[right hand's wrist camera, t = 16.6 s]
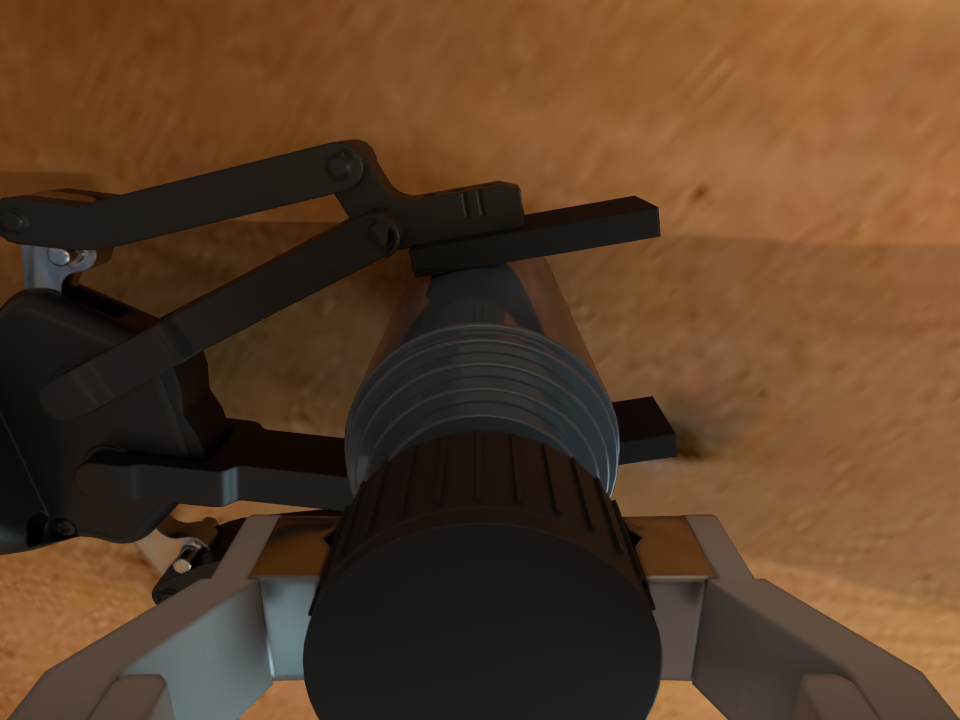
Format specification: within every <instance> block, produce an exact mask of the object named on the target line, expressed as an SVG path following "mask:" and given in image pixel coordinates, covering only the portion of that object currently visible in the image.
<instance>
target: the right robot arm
mask: <svg viewBox="0 0 960 720" xmlns="http://www.w3.org/2000/svg"><path fill="white" fill-rule="evenodd" d="M341 517H342V516H315V515H283V516H282V515H251V516H249V517H247V518H246V520H245V521H244V523H243V525H242V526H241V528H240V530H239V531H238V533H237V535H236V537H235V538H234V540H233V542H232V543H231V545H230V547H229V548H228V550H227V552H226V553H225V555H224V557H223V558H222V560H221V562H220V564H219V565H218V567H217V569H216V570H215V572H214V574H213V575H212V577H211V579H200V580H198V581H196V582H195V583H193V584H191V585H190V586H188V587H186V588H185V589H183V590H181V591H180V592H178V593H176V594H175V595H173V596H171V597H170V598H168V599H166V600H165V601H163V602H161V603H159V604H158V605H156V606H154V607H153V608H151V609H149V610H148V611H146V612H144V613H143V614H141V615H139V616H138V617H136V618H134V619H133V620H131V621H129V622H128V623H126V624H124V625H123V626H121V627H119V628H117V629H116V630H114V631H112V632H111V633H109V634H107V635H106V636H104V637H102V638H101V639H99V640H97V641H96V642H94V643H92V644H91V645H89V646H87V647H86V648H84V649H82V650H81V651H79V652H77V653H75V654H74V655H72V656H70V657H69V658H67V659H65V660H64V661H62V662H60V663H59V664H57V665H55V666H54V667H52V668H50V669H49V670H47V671H45V673H44V674H43V675H42V676H41V678H40V679H39V680H38V681H37V683H36V684H35V685H34V686H33V688H32V689H31V690H30V691H29V693H28V694H27V695H26V696H25V698H24V699H23V700H22V702H21V703H20V704H19V705H18V707H17V708H16V709H15V710H14V712H13V713H12V714H11V715H10V717H9V718H8V719H7V720H238V719H239V718H240V717H241V716H242V715H243V714H244V713H245V712H246V710H247V709H248V708H249V707H250V706H251V705H252V704H253V703H254V702H255V701H256V700H257V699H258V698H259V697H260V696H261V695H262V694H263V693H264V692H265V691H266V690H267V689H268V688H269V687H270V686H271V685H272V681H284V680H304V673H303V661H302V660H303V648H304V640H305V636H306V632H307V628H308V625H309V621H310V619H311V616H308V612H309V609H310V606H311V603H312V600H313V597H314V595H316V596H318V595H319V592H320V589H321V587H320V586H318V583H319V581H320V578H321V575H322V572H323V569H324V566H325V563H326V560H327V558H328V555H329V552H330V549H331V546H332V543H333V540H334V537H335V535H336V532H337V529H338V526H339V523H340V520H341ZM622 518H623V521H624V524H625V527H626V529H627V532H628V535H629V538H630V541H631V543H632V544H633V546H634V552H635V555H636V557H637V560H638V563H639V566H640V569H641V571H642V574H643V577H644V581H642V584H643V587H644V590H650V593H651V596H652V599H653V601H654V604H655V608H656V610H653V611H652V613H653V616H654V618H655V621H656V624H657V627H658V630H659V634H660V639H661V645H662V667H663V668H662V674H661V680H680V681H692V684H693V685H694V686H695V687H696V688H697V689H698V690H699V691H700V692H701V693H702V694H703V695H704V696H705V697H706V698H707V699H708V700H709V701H710V702H711V703H712V704H713V705H714V706H715V707H716V708H717V709H718V710H719V711H720V712H721V713H722V714H723V715H724V716H725V717H726V718H727V719H728V720H960V719H959V718H958V716H957V715H956V714H955V713H954V711H953V710H952V709H951V708H950V706H949V705H948V704H947V703H946V701H945V700H944V699H943V698H942V696H941V695H940V694H939V693H938V691H937V690H936V689H935V688H934V686H933V685H932V684H931V683H930V681H929V680H928V679H927V678H926V676H925V675H924V674H923V673H922V672H921V671H919V670H917V669H916V668H914V667H912V666H911V665H909V664H907V663H906V662H904V661H902V660H900V659H899V658H897V657H895V656H894V655H892V654H890V653H889V652H887V651H885V650H884V649H882V648H880V647H879V646H877V645H875V644H873V643H872V642H870V641H868V640H867V639H865V638H863V637H862V636H860V635H858V634H857V633H855V632H853V631H852V630H850V629H848V628H846V627H845V626H843V625H841V624H840V623H838V622H836V621H835V620H833V619H831V618H830V617H828V616H826V615H825V614H823V613H821V612H819V611H818V610H816V609H814V608H813V607H811V606H809V605H808V604H806V603H804V602H803V601H801V600H799V599H798V598H796V597H794V596H792V595H791V594H789V593H787V592H786V591H784V590H782V589H781V588H779V587H777V586H776V585H774V584H772V583H771V582H769V581H767V580H765V579H755V578H754V577H753V575H752V573H751V572H750V570H749V569H748V567H747V565H746V564H745V562H744V560H743V559H742V557H741V555H740V554H739V552H738V551H737V549H736V547H735V546H734V544H733V542H732V541H731V539H730V537H729V536H728V534H727V533H726V531H725V529H724V528H723V526H722V524H721V523H720V521H719V520H718V518H717V517H716V516H714V515H712V514H705V515H681V516H646V517H622Z"/></svg>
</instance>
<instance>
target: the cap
mask: <svg viewBox="0 0 960 720" xmlns="http://www.w3.org/2000/svg"><path fill="white" fill-rule="evenodd" d="M642 581H644V577H643V574H642V571H641V569H640V566H639V563H638V560H637V557H636V555H635V552H634V546H633V544H632V543H631V541H630V538H629V535H628V532H627V529H626V527H625V524H624V521H623V518H622V516H621V513H620V510H619V507H618V504H617V502H616V500H613V501H611V499H610V497H609V495H608V494H607V492H606V491H605V490H604V488H603V486H602V483H601V480H600V479H599V478H598V477H595V478H594V477H593V476H592V475H591V474H590V473H589V472H588V471H587V470H586V469H585V468H584V467H583V466H581V465H580V464H579V463H578V461H577V459H576V458H574V457H572V458H571V457H569V456H567V455H565V454H564V453H562V452H560V451H558V450H556V449H555V448H553V447H550V446H549V444H548V443H545V442H543V443H540V442H538V441H536V440H532V439H529V438H525V437H521V436H517V435H516V434H513V433H511V434H505V433H498V432H482V431H476V432H469V433H458V434H453V435H447V434H446V435H442V437H439V438H435V439H432V440H429V441H427V442H424V443H421V444H418V445H415V444H414V445H412V446H410V449H408V450H406V451H404V452H402V453H400V454H399V455H397V456H396V457H394V458H393V459H391V460H390V461H387V460H386V461H384V462H383V463H382V467H381V468H380V469H378V470H377V471H376V472H375V473H374V474H373V475H372V476H371V477H370V478H369V479H368V480H367V481H366V482H365V481H362V483H361V484H360V487H359V490H358V493H357V495H356V496H355V498H354V499H353V501H352V502H351V505H350V506H349V505H346V507H345V509H344V512H343V514H342V517H341V520H340V523H339V526H338V529H337V532H336V535H335V537H334V540H333V543H332V546H331V549H330V552H329V555H328V558H327V560H326V563H325V566H324V569H323V572H322V575H321V578H320V581H319V583H318V586H320V587H321V589H320V592H319V595H318V596H316V595H314V597H313V600H312V603H311V606H310V609H309V612H308V616H311V619H310V621H309V625H308V628H307V632H306V636H305V640H304V648H303V660H302V661H303V673H304V681H305V685H306V689H307V692H308V696H309V699H310V701H311V704H312V706H313V708H314V711H315V713H316V715H317V717H318V718H319V720H646V718H647V716H648V714H649V713H650V711H651V709H652V707H653V705H654V702H655V699H656V696H657V693H658V690H659V686H660V680H661V674H662V668H663V667H662V645H661V639H660V634H659V630H658V627H657V624H656V621H655V618H654V616H653V613H652V611H653V610H656V608H655V604H654V601H653V599H652V596H651V593H650V590H644V587H643V584H642Z"/></svg>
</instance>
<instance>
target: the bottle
mask: <svg viewBox="0 0 960 720" xmlns="http://www.w3.org/2000/svg"><path fill="white" fill-rule="evenodd" d="M476 431H482V432H498V433H505V434H511V433H513V434H516V435H517V436H521V437H525V438H529V439H532V440H536V441H538V442H540V443H543V442H545V443H548V444H549V446H550V447H553V448H555V449H556V450H558V451H560V452H562V453H564V454H565V455H567V456H569V457H571V458H572V457H574V458H576V459H577V461H578V463H579V464H580V465H581V466H583V467H584V468H585V469H586V470H587V471H588V472H589V473H590V474H591V475H592V476H593V477H594V478H595V477H598V478H599V479H600V480H601V483H602V486H603V488H604V490H605V491H606V492H607V494H608V495H609V497H610V498H611V495H612V493H613V490H614V486H615V482H616V478H617V471H618V463H619V453H620V436H619V428H618V422H617V417H616V414H615V411H614V408H613V405H612V403H611V400H610V398H609V395H608V393H607V391H606V389H605V387H604V384H603V382H602V380H601V378H600V376H599V374H598V371H597V369H596V367H595V365H594V363H593V360H592V358H591V356H590V354H589V352H588V350H587V347H586V345H585V343H584V341H583V339H582V337H581V334H580V332H579V330H578V328H577V326H576V323H575V321H574V319H573V317H572V315H571V313H570V310H569V308H568V306H567V304H566V302H565V299H564V297H563V295H562V293H561V291H560V289H559V286H558V284H557V282H556V280H555V278H554V275H553V273H552V271H551V269H550V267H549V265H548V263H547V261H546V260H545V258H544V257H537V258H531V259H525V260H519V261H513V262H507V263H502V264H496V265H490V266H484V267H478V268H472V269H466V270H461V271H455V272H449V273H443V274H437V275H431V276H425V277H420V278H415V276H414V271H413V270H412V272H411V274H410V277H409V279H408V281H407V283H406V285H405V288H404V290H403V292H402V294H401V296H400V299H399V301H398V303H397V305H396V308H395V310H394V312H393V314H392V316H391V319H390V321H389V323H388V325H387V327H386V330H385V332H384V334H383V336H382V338H381V341H380V343H379V345H378V347H377V350H376V352H375V354H374V356H373V358H372V361H371V363H370V365H369V367H368V369H367V372H366V374H365V376H364V378H363V380H362V383H361V385H360V387H359V389H358V391H357V394H356V396H355V398H354V401H353V403H352V406H351V408H350V411H349V415H348V419H347V423H346V428H345V440H344V449H345V461H346V469H347V476H348V481H349V485H350V489H351V492H352V494H353V497H354V498H355V496H356V495H357V493H358V490H359V487H360V484H361V483H362V481H365V482H366V481H367V480H368V479H369V478H370V477H371V476H372V475H373V474H374V473H375V472H376V471H377V470H378V469H380V468H381V467H382V463H383V462H384V461H386V460H387V461H390V460H391V459H393V458H394V457H396V456H397V455H399V454H400V453H402V452H404V451H406V450H408V449H410V446H412V445H414V444H415V445H418V444H421V443H424V442H427V441H429V440H432V439H435V438H439V437H442V435H446V434H447V435H453V434H458V433H469V432H476Z"/></svg>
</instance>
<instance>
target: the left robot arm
mask: <svg viewBox="0 0 960 720" xmlns="http://www.w3.org/2000/svg"><path fill="white" fill-rule="evenodd" d="M330 194H335V196H336V197H337V199H338V200H339V202H340V204H341V205H342V207H343V208H344V210H345V211H346V213H347V215H348V216H349V219H347V220H345V221H343V222H341V223H340V224H338V225H336V226H334V227H332V228H330V229H328V230H326V231H324V232H323V233H321V234H319V235H317V236H315V237H313V238H311V239H309V240H307V241H306V242H304V243H302V244H300V245H298V246H296V247H294V248H292V249H290V250H289V251H287V252H285V253H283V254H281V255H279V256H277V257H275V258H274V259H272V260H270V261H268V262H266V263H264V264H262V265H260V266H258V267H257V268H255V269H253V270H251V271H249V272H247V273H245V274H243V275H241V276H240V277H238V278H236V279H234V280H232V281H230V282H228V283H226V284H224V285H223V286H221V287H219V288H217V289H215V290H213V291H211V292H209V293H207V294H205V295H203V296H201V297H199V298H197V299H195V300H193V301H191V302H189V303H187V304H186V305H184V306H182V307H180V308H178V309H176V310H174V311H172V312H170V313H169V314H167V315H165V316H163V317H161V318H157V317H155V316H153V315H150V314H148V313H146V312H143V311H141V310H139V309H136V308H134V307H132V306H130V305H127V304H125V303H123V302H120V301H118V300H116V299H113V298H111V297H109V296H107V295H104V294H102V293H100V292H97V291H95V290H93V289H90V288H88V287H86V286H83V285H81V284H79V280H80V276H81V274H82V272H83V271H86V270H89V269H92V268H94V267H97V266H99V265H102V264H104V263H106V262H107V261H108V260H109V259H110V258H111V256H112V254H113V248H114V247H116V246H120V245H124V244H128V243H132V242H136V241H140V240H144V239H149V238H153V237H157V236H161V235H165V234H169V233H173V232H178V231H182V230H186V229H190V228H194V227H198V226H202V225H206V224H211V223H215V222H219V221H223V220H227V219H231V218H235V217H240V216H244V215H248V214H252V213H256V212H260V211H264V210H268V209H273V208H277V207H281V206H285V205H289V204H293V203H297V202H302V201H306V200H310V199H314V198H318V197H322V196H326V195H330ZM0 236H2V237H3V238H5V239H6V240H7V241H9V242H13V243H16V244H20V248H21V256H22V264H23V272H24V280H25V288H26V290H23V291H20V292H18V293H17V294H15V295H13V296H12V297H11V298H10V299H9V300H8V301H7V302H6V303H5V304H4V305H3V306H2V307H1V308H0V555H5V554H12V553H19V552H25V551H29V550H34V549H38V548H41V547H45V546H48V545H51V544H54V543H58V542H61V541H64V540H67V539H71V538H75V537H82V536H83V537H93V538H99V539H103V540H106V541H109V542H113V543H123V544H125V543H132V542H134V543H135V545H136V546H137V547H138V548H139V550H140V551H141V552H142V553H143V554H144V556H145V557H146V558H147V559H148V561H149V562H150V563H151V564H152V565H153V567H154V568H155V569H156V570H157V572H158V573H159V574H160V575H161V578H160V580H159V581H158V583H157V584H156V586H155V587H154V589H153V591H152V598H153V600H154V602H155V604H156V605H158V604H159V603H161V602H163V601H165V600H166V599H168V598H170V597H171V596H173V595H175V594H176V593H178V592H180V591H181V590H183V589H185V588H186V587H188V586H190V585H191V584H193V583H195V582H196V581H198V580H200V579H211V577H212V575H213V574H214V572H215V570H216V569H217V567H218V565H219V564H220V562H221V560H222V558H223V557H224V555H225V553H226V552H227V550H228V548H229V547H230V545H231V543H232V542H233V540H234V538H235V537H236V535H237V533H238V531H239V530H240V528H241V526H242V525H243V523H244V521H245V520H246V518H247V517H245V518H240V519H236V520H233V521H229V522H226V523H224V524H221V525H219V523H218V521H217V520H216V519H215V518H212V517H206V518H204V519H203V520H202V521H197V522H191V523H185V522H181V521H178V520H176V519H175V518H173V517H172V516H171V515H170V513H171V512H172V511H173V510H174V509H175V507H176V506H177V505H178V504H179V503H180V504H189V505H199V506H208V507H222V506H226V505H228V504H231V503H233V502H235V501H239V500H244V501H254V502H263V503H272V504H282V505H291V506H300V507H309V508H319V509H322V510H311V511H301V512H291V513H281V514H271V515H282V516H283V515H315V516H342V514H343V512H344V509H345V507H346V505H349V506H350V505H351V502H352V501H353V499H354V497H353V494H352V492H351V489H350V485H349V481H348V476H347V469H346V461H345V449H344V440H345V438H336V437H327V436H318V435H309V434H300V433H291V432H283V431H274V430H267V429H264V428H262V426H261V425H260V424H259V423H257V422H254V421H248V420H239V419H230V418H226V416H225V413H224V410H223V408H222V406H221V405H220V403H219V402H218V400H217V399H216V397H215V396H214V394H213V393H212V391H211V390H210V388H209V378H208V363H207V360H206V358H205V355H204V352H203V350H204V349H206V348H208V347H210V346H212V345H214V344H216V343H218V342H220V341H222V340H224V339H226V338H227V337H229V336H231V335H233V334H235V333H237V332H239V331H241V330H243V329H245V328H247V327H249V326H251V325H253V324H255V323H257V322H259V321H261V320H262V319H264V318H266V317H268V316H270V315H272V314H274V313H276V312H278V311H280V310H282V309H284V308H286V307H288V306H290V305H292V304H294V303H296V302H297V301H299V300H301V299H303V298H305V297H307V296H309V295H311V294H313V293H315V292H317V291H319V290H321V289H323V288H325V287H327V286H329V285H331V284H332V283H334V282H336V281H338V280H340V279H342V278H344V277H346V276H348V275H350V274H352V273H354V272H356V271H358V270H360V269H362V268H364V267H366V266H367V265H369V264H371V263H373V262H375V261H377V260H379V259H381V258H383V257H385V256H386V257H387V259H388V258H389V257H391V256H392V255H393V254H394V253H395V252H396V250H400V249H406V248H410V250H409V253H410V257H411V262H412V267H413V271H414V276H415V278H420V277H425V276H431V275H437V274H443V273H449V272H455V271H461V270H466V269H472V268H478V267H484V266H490V265H496V264H502V263H507V262H513V261H519V260H525V259H531V258H537V257H543V256H548V255H554V254H560V253H566V252H572V251H578V250H584V249H590V248H595V247H601V246H607V245H613V244H619V243H625V242H631V241H636V240H642V239H648V238H654V237H660V236H661V235H660V222H659V209H658V207H657V206H655V205H653V204H651V203H649V202H647V201H645V200H643V199H640V198H638V197H636V196H630V197H625V198H619V199H613V200H607V201H602V202H596V203H590V204H585V205H579V206H573V207H567V208H562V209H556V210H550V211H545V212H539V213H533V214H527V215H524V210H523V204H522V197H521V190H520V188H519V186H518V185H516V184H512V183H507V182H503V181H495V182H489V183H484V184H479V185H472V186H467V187H461V188H456V189H450V190H444V191H439V192H433V193H428V194H422V195H407V194H404V193H402V192H400V191H398V190H397V189H396V188H394V187H393V186H392V184H391V183H390V182H389V180H388V179H387V177H386V175H385V174H384V172H383V170H382V169H381V167H380V165H379V164H378V162H377V158H376V155H375V153H374V150H373V148H371V147H370V146H369V145H368V144H367V143H366V142H363V141H361V140H345V141H339V142H332V143H328V144H324V145H320V146H316V147H312V148H308V149H304V150H300V151H296V152H292V153H288V154H284V155H280V156H276V157H272V158H268V159H264V160H260V161H256V162H251V163H247V164H243V165H239V166H235V167H231V168H227V169H223V170H219V171H215V172H211V173H207V174H203V175H199V176H195V177H191V178H187V179H183V180H179V181H175V182H171V183H167V184H163V185H159V186H155V187H151V188H147V189H143V190H139V191H135V192H131V193H127V194H123V195H117V194H109V193H101V192H93V191H85V190H77V189H69V188H66V189H57V190H51V191H44V192H37V193H31V194H25V195H20V196H14V197H8V198H2V199H1V200H0ZM612 405H613V408H614V411H615V414H616V417H617V422H618V428H619V436H620V453H619V463H618V465H622V464H628V463H635V462H642V461H648V460H655V459H662V458H669V457H675V456H677V446H676V434H675V432H674V430H673V429H672V427H671V425H670V424H669V422H668V421H667V419H666V417H665V416H664V414H663V413H662V411H661V409H660V408H659V406H658V405H657V403H656V401H655V400H654V398H653V396H651V397H645V398H638V399H632V400H625V401H619V402H612Z"/></svg>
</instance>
